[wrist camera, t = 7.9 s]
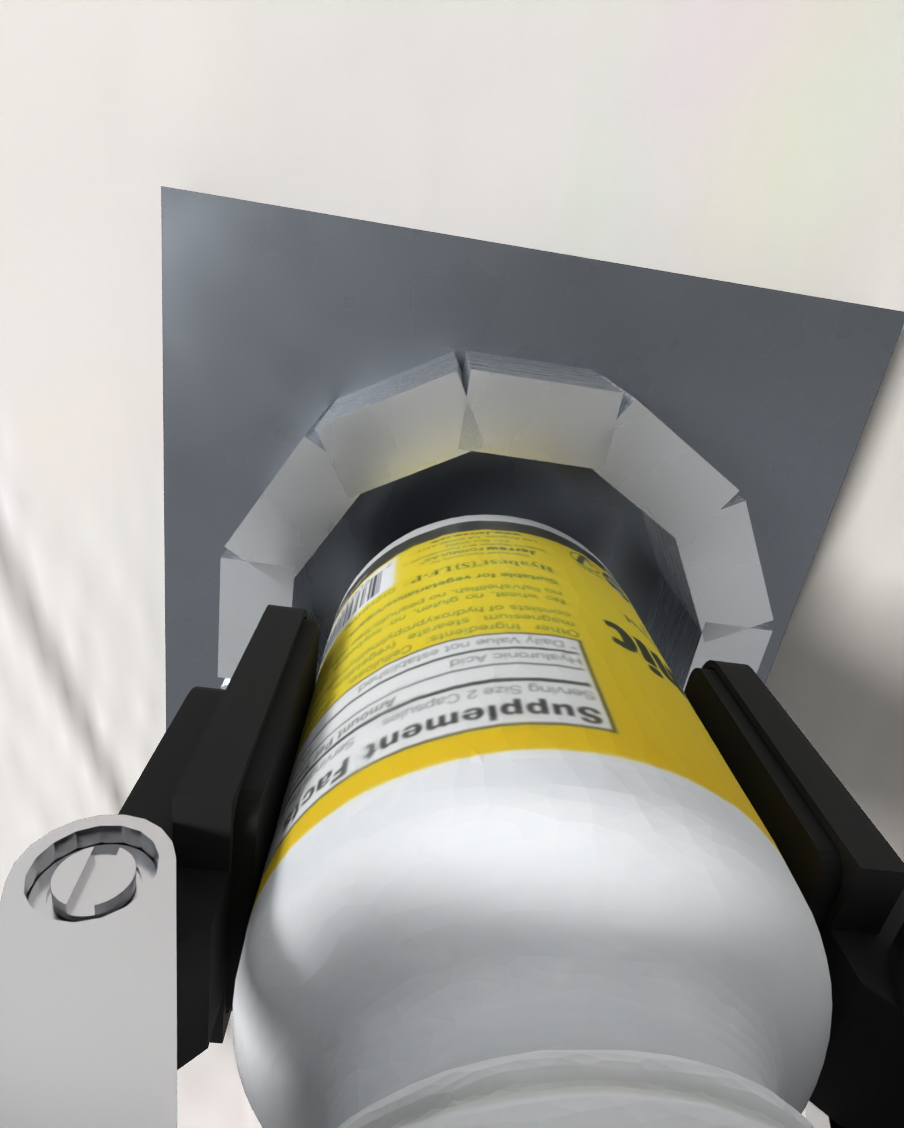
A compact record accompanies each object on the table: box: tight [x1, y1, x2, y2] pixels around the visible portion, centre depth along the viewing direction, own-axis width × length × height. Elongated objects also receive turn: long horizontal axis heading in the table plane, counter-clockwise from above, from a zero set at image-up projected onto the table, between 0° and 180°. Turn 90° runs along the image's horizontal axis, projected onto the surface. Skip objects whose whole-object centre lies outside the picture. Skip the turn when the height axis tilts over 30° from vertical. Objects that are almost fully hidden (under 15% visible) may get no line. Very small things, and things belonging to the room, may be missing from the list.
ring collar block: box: [161, 186, 904, 731], centre depth 14 cm, size 13×13×4 cm
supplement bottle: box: [233, 514, 832, 1128], centre depth 8 cm, size 5×5×10 cm
